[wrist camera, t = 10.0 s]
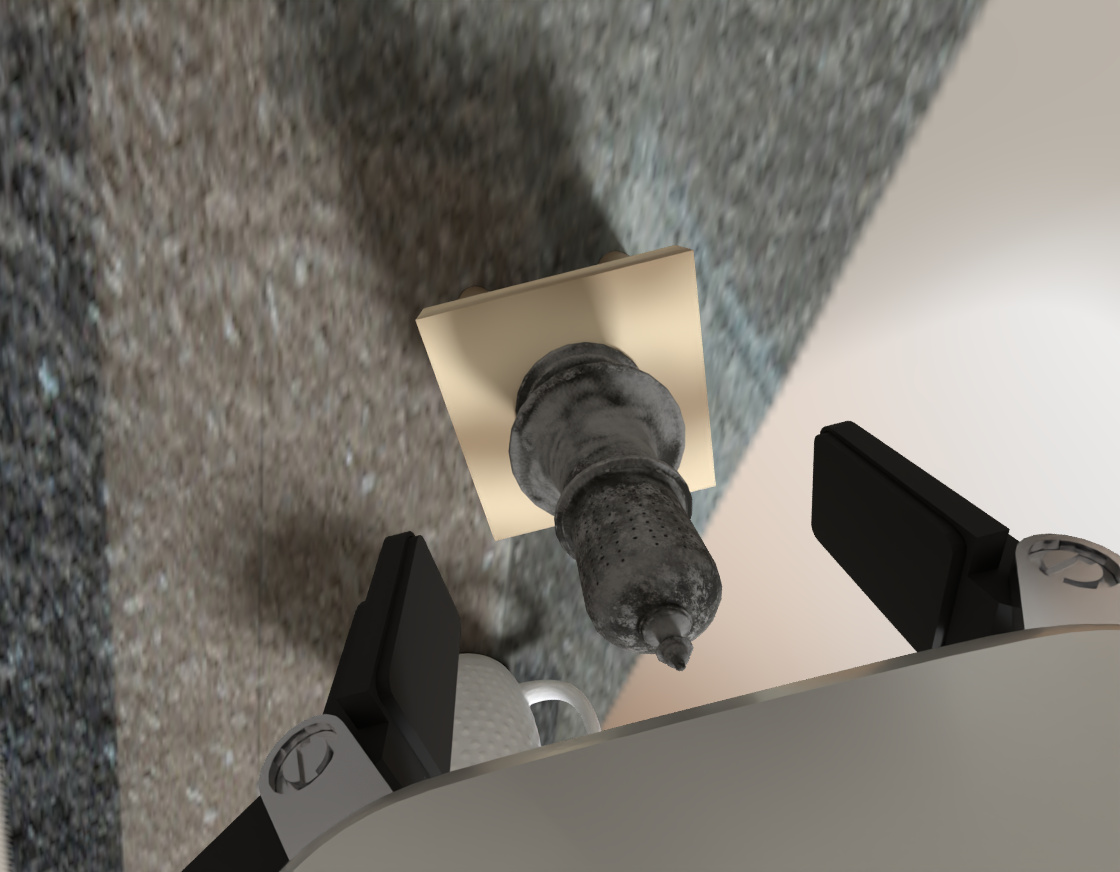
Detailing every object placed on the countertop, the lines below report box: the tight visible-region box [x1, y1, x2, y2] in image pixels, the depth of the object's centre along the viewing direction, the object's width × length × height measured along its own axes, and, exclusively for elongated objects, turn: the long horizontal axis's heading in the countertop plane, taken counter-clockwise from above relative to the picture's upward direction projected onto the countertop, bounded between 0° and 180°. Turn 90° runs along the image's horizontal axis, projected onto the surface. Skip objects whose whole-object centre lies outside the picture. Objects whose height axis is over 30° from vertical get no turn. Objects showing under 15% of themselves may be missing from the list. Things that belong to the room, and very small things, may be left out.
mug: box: [450, 653, 601, 772], centre depth 31 cm, size 15×11×13 cm
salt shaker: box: [508, 342, 722, 671], centre depth 14 cm, size 6×6×12 cm
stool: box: [416, 245, 716, 541], centre depth 23 cm, size 10×10×8 cm
